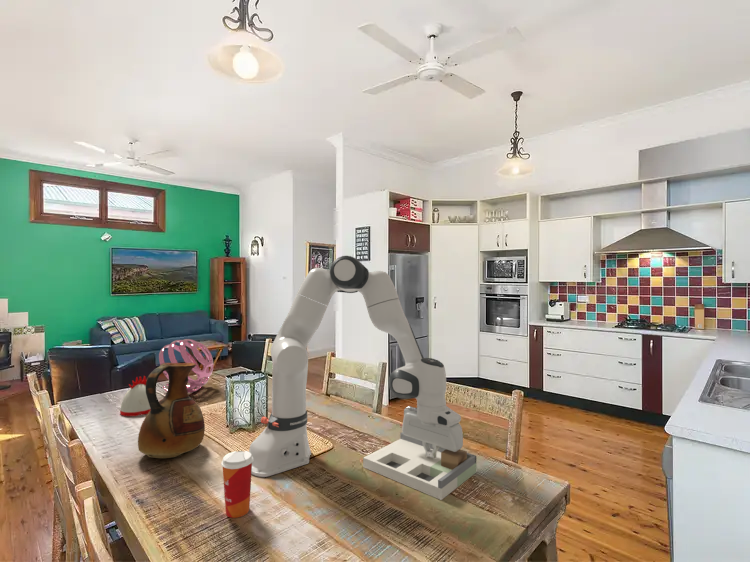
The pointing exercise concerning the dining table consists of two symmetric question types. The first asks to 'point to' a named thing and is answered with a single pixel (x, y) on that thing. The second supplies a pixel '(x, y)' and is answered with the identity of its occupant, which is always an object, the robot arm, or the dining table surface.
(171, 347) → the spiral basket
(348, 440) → the dining table surface
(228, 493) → the paper cup
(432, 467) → the tray
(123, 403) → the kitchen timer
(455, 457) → the walnut block
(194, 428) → the ceramic pitcher
